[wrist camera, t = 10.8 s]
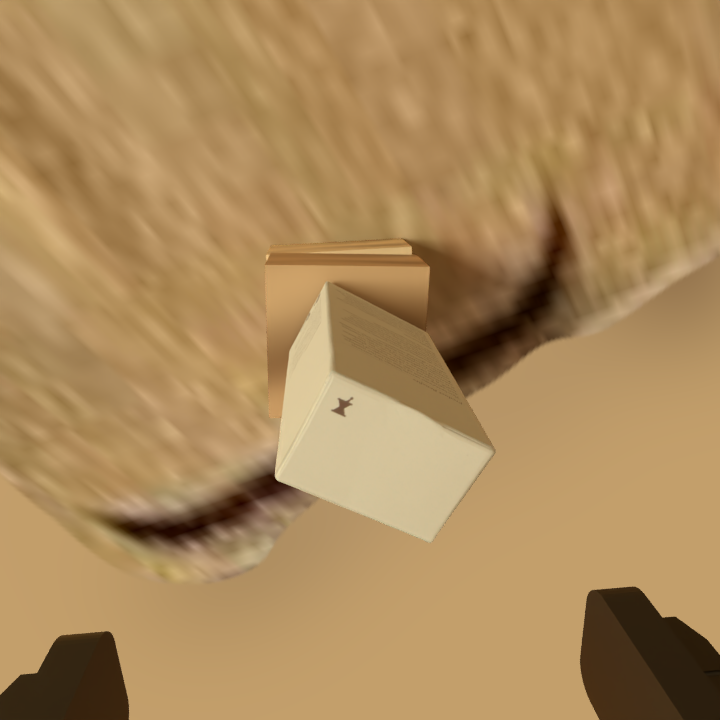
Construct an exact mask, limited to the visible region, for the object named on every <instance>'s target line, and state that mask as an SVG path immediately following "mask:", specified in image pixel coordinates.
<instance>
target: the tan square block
mask: <svg viewBox="0 0 720 720" xmlns="http://www.w3.org/2000/svg"><path fill="white" fill-rule="evenodd" d="M429 275H430V266H428V265H427V264H426V263H425V262H424V261H423V260H422V259H421V258H420V257H418V256H417V255H404V254H332V253H270V255H269V258H268V260H267V262H266V264H265V286H266V322H267V357H268V393H269V418H282V410H283V401H284V393H285V384H286V376H287V367H288V360H289V351H290V349H291V347H292V345H293V343H294V341H295V340H296V338H297V336H298V334H299V332H300V330H301V328H302V326H303V324H304V322H305V320H306V318H307V316H308V314H309V312H310V310H311V308H312V307H313V305H314V303H315V301H316V299H317V298H318V296H319V294H320V292H321V290H322V288H323V286H324V284H325V283H326V282H327V281H328V282H331V283H332V284H334V285H336V286H338V287H340V288H342V289H344V290H346V291H348V292H350V293H352V294H354V295H356V296H358V297H360V298H362V299H363V300H365V301H367V302H369V303H371V304H373V305H375V306H377V307H379V308H381V309H383V310H385V311H387V312H388V313H390V314H392V315H394V316H396V317H398V318H400V319H402V320H404V321H406V322H408V323H410V324H412V325H414V326H416V327H417V328H419V329H421V330H423V331H425V332H426V322H427V306H428V290H429Z"/></svg>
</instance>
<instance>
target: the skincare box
mask: <svg viewBox="0 0 720 720" xmlns="http://www.w3.org/2000/svg"><path fill="white" fill-rule="evenodd" d="M494 454H495V449H494V447H493V445H492V443H491V441H490V440H489V438H488V436H487V435H486V433H485V431H484V429H483V428H482V426H481V424H480V422H479V421H478V419H477V417H476V415H475V414H474V412H473V410H472V409H471V407H470V405H469V403H468V402H467V400H466V398H465V397H464V395H463V393H462V391H461V389H460V388H459V386H458V384H457V382H456V381H455V379H454V377H453V376H452V374H451V372H450V370H449V369H448V367H447V365H446V363H445V362H444V360H443V358H442V357H441V355H440V353H439V351H438V350H437V348H436V346H435V344H434V343H433V341H432V339H431V337H430V336H429V334H428V333H427V332H425V331H423V330H421V329H419V328H417V327H416V326H414V325H412V324H410V323H408V322H406V321H404V320H402V319H400V318H398V317H396V316H394V315H392V314H390V313H388V312H387V311H385V310H383V309H381V308H379V307H377V306H375V305H373V304H371V303H369V302H367V301H365V300H363V299H362V298H360V297H358V296H356V295H354V294H352V293H350V292H348V291H346V290H344V289H342V288H340V287H338V286H336V285H334V284H332V283H331V282H328V281H327V282H326V283H325V284H324V286H323V288H322V290H321V292H320V294H319V296H318V298H317V299H316V301H315V303H314V305H313V307H312V308H311V310H310V312H309V314H308V316H307V318H306V320H305V322H304V324H303V326H302V328H301V330H300V332H299V334H298V336H297V338H296V340H295V341H294V343H293V345H292V347H291V349H290V351H289V360H288V367H287V376H286V384H285V393H284V401H283V410H282V419H281V427H280V435H279V445H278V453H277V460H276V468H275V477H276V479H277V480H278V481H280V482H282V483H285V484H287V485H290V486H292V487H295V488H297V489H299V490H302V491H304V492H307V493H309V494H312V495H314V496H316V497H319V498H321V499H324V500H326V501H329V502H331V503H334V504H336V505H339V506H341V507H344V508H346V509H349V510H351V511H354V512H356V513H359V514H361V515H364V516H366V517H369V518H371V519H374V520H376V521H378V522H381V523H383V524H386V525H388V526H391V527H393V528H396V529H398V530H401V531H403V532H406V533H408V534H410V535H413V536H415V537H417V538H420V539H422V540H424V541H426V542H429V543H431V542H433V540H434V539H435V537H436V536H437V534H438V533H439V531H440V530H441V528H442V527H443V525H444V524H445V523H446V521H447V520H448V518H449V517H450V516H451V514H452V513H453V511H454V510H455V509H456V507H457V506H458V504H459V503H460V502H461V500H462V499H463V498H464V496H465V495H466V493H467V492H468V490H469V489H470V488H471V486H472V485H473V483H474V482H475V481H476V479H477V478H478V476H479V475H480V474H481V472H482V471H483V469H484V468H485V467H486V465H487V464H488V462H489V461H490V460H491V458H492V457H493V456H494Z"/></svg>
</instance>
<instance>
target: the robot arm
mask: <svg viewBox="0 0 720 720" xmlns="http://www.w3.org/2000/svg"><path fill="white" fill-rule="evenodd" d="M580 665H581V674H582V678H583V683H584V686H585V690H586V692H587V695H588V697H589V700H590V702H591V704H592V705H593V707H594V710H595V712H596V714H597V716H598V718H599V719H600V720H720V655H719V654H718V652H717V651H716V650H715V649H714V647H713V646H712V645H711V644H710V643H709V641H708V640H707V639H705V638H704V637H703V636H701V635H700V634H698V633H697V632H696V631H694V630H693V629H691V628H690V627H689V626H687V625H686V624H685V623H683V622H682V621H680V620H679V619H678V618H677V617H665V618H662V617H661V615H660V614H659V613H658V611H657V610H656V609H655V608H654V606H653V605H652V603H650V601H649V600H648V598H647V597H646V596H645V594H644V593H643V592H642V591H641V590H640V589H639V588H636V587H624V588H612V589H601V590H592V591H590V592H589V594H588V596H587V601H586V610H585V619H584V628H583V637H582V646H581V655H580ZM0 720H129V704H128V697H127V693H126V688H125V684H124V680H123V675H122V671H121V667H120V663H119V658H118V654H117V649H116V645H115V641H114V638H113V635H112V634H111V633H110V632H107V631H106V632H95V633H85V634H72V635H62V636H60V637H58V638H57V639H56V641H55V642H54V643H53V645H52V647H51V648H50V650H49V652H48V654H47V656H46V658H45V660H44V661H43V663H42V665H41V667H40V669H39V671H38V673H35V674H24V675H20V676H19V677H18V678H17V679H16V680H15V681H14V682H13V683H12V684H11V685H10V686H9V687H8V688H7V689H6V690H5V691H4V692H3V693H2V694H1V695H0Z"/></svg>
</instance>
